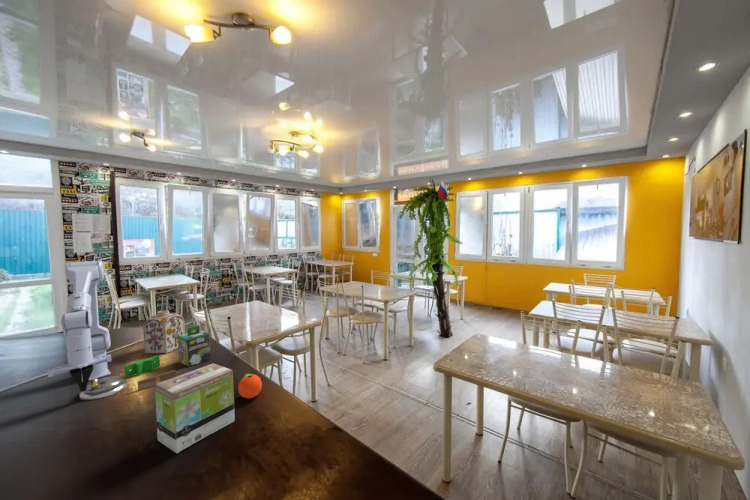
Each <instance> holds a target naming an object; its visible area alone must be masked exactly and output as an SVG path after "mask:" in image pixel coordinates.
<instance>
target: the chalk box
mask: <svg viewBox="0 0 750 500" xmlns="http://www.w3.org/2000/svg"><path fill="white" fill-rule="evenodd" d="M194 329H195V330H194ZM192 330H193V331H192ZM177 341H178V350H177V352H178V358H179V359H178V361H179V363H180V364H183V365H184V366H186V367H188V368H190V367H192V366H196V365H198V364H202V363H204V362H207V361H211V360H212V357H211V354H212V353H211V342H210V341H211V340H210V332H208V331H204V330H201V326H200V325H194V326H190V327H188V328H187V332H185V334H182V335H179V336H177Z"/></svg>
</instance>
